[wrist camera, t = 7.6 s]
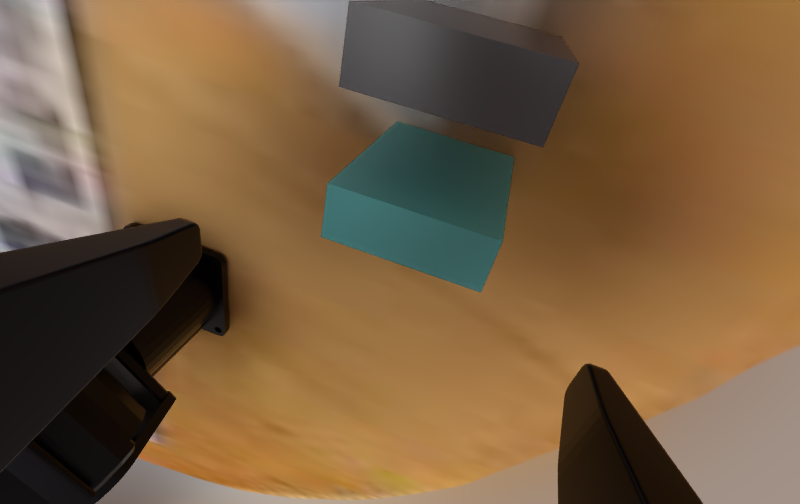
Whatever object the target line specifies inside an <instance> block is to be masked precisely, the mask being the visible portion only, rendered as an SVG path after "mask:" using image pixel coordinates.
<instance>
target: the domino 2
mask: <svg viewBox="0 0 800 504" xmlns="http://www.w3.org/2000/svg"><path fill="white" fill-rule="evenodd" d="M513 162H514V157H512V156H509V155H506V154H503V153H499V152H496V151H493V150H489V149H486V148H483V147H480V146H476V145H473V144H470V143H467V142H463V141H460V140H457V139H454V138H450V137H447V136H444V135H441V134H437V133H434V132H431V131H428V130H424V129H421V128H418V127H414V126H411V125H408V124H405V123H401V122H398V121H397V122H396V123H395V124H394V125H393V126H392V127H391V128H389V129H388V130H387V131H386V132H385V133H384V134H383V135H382V136H380V137H379V138H378V139H377V140H376V141H375V142H374V143H373V144H371V145H370V146H369V147H368V148H367V149H366V150H365V151H364V152H362V153H361V154H360V155H359V156H358V157H357V158H356V159H354V160H353V161H352V162H351V163H350V164H349V165H348V166H347V167H345V168H344V169H343V170H342V171H341V172H340V173H339V174H338V175H336V176H335V177H334V178H333V179H332V180H331V181H330V182H328V183H327V192H326V200H325V208H324V216H323V225H322V233H321V237H323V238H326V239H329V240H332V241H334V242H337V243H340V244H343V245H346V246H349V247H352V248H355V249H357V250H360V251H363V252H366V253H369V254H372V255H375V256H378V257H380V258H383V259H386V260H389V261H392V262H395V263H398V264H401V265H403V266H406V267H409V268H412V269H415V270H418V271H421V272H423V273H426V274H429V275H432V276H435V277H438V278H441V279H444V280H446V281H449V282H452V283H455V284H458V285H461V286H464V287H467V288H469V289H472V290H475V291H478V292H481V291H482V289H483V286H484V284H485V282H486V279H487V277H488V275H489V272H490V270H491V268H492V265H493V263H494V261H495V258H496V256H497V254H498V251H499V249H500V247H501V244H502V242H503V236H504V229H505V221H506V214H507V207H508V199H509V192H510V185H511V177H512V170H513Z"/></svg>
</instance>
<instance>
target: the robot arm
mask: <svg viewBox="0 0 800 504" xmlns="http://www.w3.org/2000/svg"><path fill="white" fill-rule="evenodd" d="M201 329H204V330H206V331H209V332H211V333H214V334H217V335H220V336H223V335H224V334H225V333H226V332H227V331H228V330H229V322H228V300H227V278H226V261H225V259H224V257H223V256H221V255H220V254H218V253H216V252H213V251H210V250H207V249H205V248H202V247H201V235H200V228H199V226H198V225H197V224H196V223H194V222H191V221H188V220H186V219H182V218H178V219H173V220H168V221H162V222H157V223H152V224H147V225H142V226H141V225H138V224H135V223H131V224H129V225H127V226H125V227H124V229H121V230H116V231H111V232H105V233H100V234H95V235H90V236H85V237H79V238H74V239H69V240H64V241H59V242H54V243H48V244H43V245H38V246H33V247H28V248H22V249H17V250H12V251H7V252H2V253H0V504H95V503H96V502H97V501H99V500H100V499H101V498H102V497H103V496H104V495H105V494H107V493H108V492H109V491H110V490H111V489H112V488H113V487H114V486H115V485H116V484H117V483H118V482H119V480H120V479H121V478H122V477H123V476H124V475H125V473H126V472H127V471H128V470H129V469H130V467H131V466H132V465H133V463H134V462H135V460H136V459H137V457H138V456H139V454H140V453H141V451H142V450H143V448H144V447H145V445H146V444H147V442H148V441H149V439H150V438H151V436H152V435H153V433H154V432H155V430H156V429H157V427H158V426H159V424H160V423H161V421H162V420H163V418H164V417H165V415H166V414H167V412H168V411H169V409H170V408H171V406H172V405H173V403H174V402H175V400H176V397H175V396H174V395H173V394H172V393H171V392H170V391H168V392H167V391H166V390H165V389H164V388H163V387H162V386H161V385H160V384H159V383H158V382H157V381H156V380H155V379H154V378H153V376H154V375H155V374H156V373H157V372H158V371H159V370H160V369H161V368H162V367H163V366H164V365H165V364H166V363H167V362H168V361H169V360H170V359H171V358H172V357H173V356H174V355H175V354H176V353H177V352H178V351H179V350H180V349H181V348H182V347H183V346H184V345H185V344H186V343H187V342H188V341H189V340H190V339H191V338H193V337H194V336H195V335H196V334H197V333H198V332H199V331H200V330H201ZM558 504H703V503H702V501H701V500H700V498H699V497H698V496H697V494H696V493H695V491H694V490H693V489H692V487H691V486H690V485H689V483H688V482H687V480H686V479H685V478H684V476H683V475H682V473H681V472H680V471H679V469H678V468H677V466H676V465H675V464H674V462H673V461H672V460H671V458H670V457H669V455H668V454H667V452H666V451H665V450H664V448H663V447H662V446H661V444H660V443H659V441H658V440H657V439H656V437H655V436H654V435H653V433H652V432H651V430H650V429H649V427H648V426H647V425H646V423H645V422H644V420H643V419H642V418H641V416H640V415H639V414H638V412H637V411H636V409H635V408H634V407H633V405H632V404H631V402H630V401H629V400H628V398H627V397H626V395H625V394H624V393H623V391H622V390H621V388H620V387H619V386H618V384H617V383H616V382H615V380H614V379H613V377H612V376H611V375H610V373H609V372H608V371H607V370H605V369H603V368H600V367H598V366H595V365H592V364H585V365H584V366H583V367H582V368H581V369H580V371H579V372H578V373H577V375H576V376H575V378H574V379H573V380H572V382H571V383H570V385H569V386H568V388H567V390H566V393H565V397H564V407H563V417H562V427H561V437H560V447H559V458H558Z"/></svg>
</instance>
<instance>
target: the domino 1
mask: <svg viewBox="0 0 800 504" xmlns="http://www.w3.org/2000/svg"><path fill="white" fill-rule="evenodd" d="M578 65H579V62H578V61H577V59H576V58H575V56H574V55H573V53H572V52H571V50H570V49H569V47H568V46H567V44H566V43H565V41H564V40H563V38H562V37H561V36H558V35H554V34H550V33H547V32H543V31H539V30H535V29H532V28H528V27H524V26H520V25H516V24H513V23H509V22H505V21H501V20H498V19H494V18H490V17H486V16H483V15H479V14H475V13H471V12H468V11H464V10H460V9H456V8H452V7H449V6H445V5H441V4H437V3H434V2H430V1H426V0H364V1H349V6H348V15H347V23H346V32H345V40H344V49H343V57H342V66H341V74H340V83H339V87H342V88H345V89H348V90H352V91H355V92H358V93H362V94H365V95H369V96H372V97H375V98H379V99H382V100H385V101H389V102H392V103H395V104H399V105H402V106H405V107H409V108H412V109H416V110H419V111H422V112H426V113H429V114H432V115H436V116H439V117H442V118H446V119H449V120H452V121H456V122H459V123H463V124H466V125H469V126H473V127H476V128H479V129H483V130H486V131H489V132H493V133H496V134H499V135H503V136H506V137H510V138H513V139H516V140H520V141H523V142H526V143H530V144H533V145H536V146H540V147H544V144H545V142H546V140H547V137H548V135H549V133H550V130H551V128H552V126H553V123H554V121H555V118H556V116H557V114H558V111H559V109H560V107H561V104H562V102H563V100H564V97H565V95H566V93H567V90H568V88H569V86H570V83H571V81H572V79H573V76H574V74H575V72H576V69H577V67H578Z"/></svg>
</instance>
